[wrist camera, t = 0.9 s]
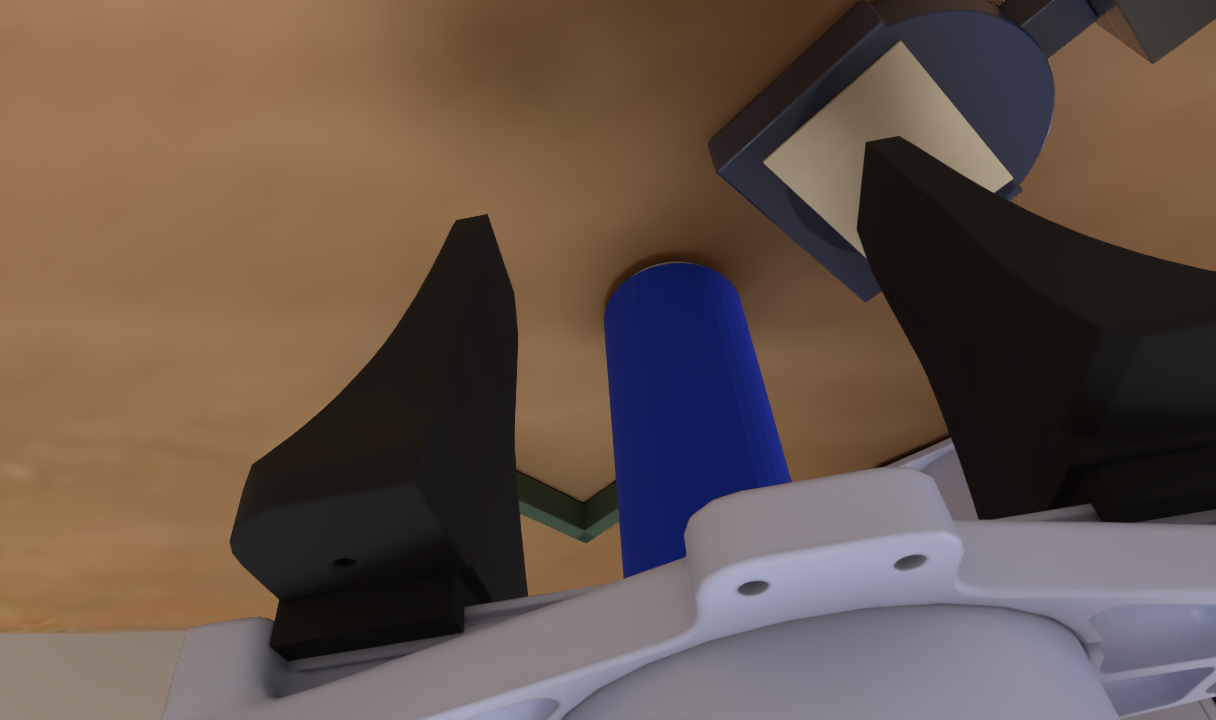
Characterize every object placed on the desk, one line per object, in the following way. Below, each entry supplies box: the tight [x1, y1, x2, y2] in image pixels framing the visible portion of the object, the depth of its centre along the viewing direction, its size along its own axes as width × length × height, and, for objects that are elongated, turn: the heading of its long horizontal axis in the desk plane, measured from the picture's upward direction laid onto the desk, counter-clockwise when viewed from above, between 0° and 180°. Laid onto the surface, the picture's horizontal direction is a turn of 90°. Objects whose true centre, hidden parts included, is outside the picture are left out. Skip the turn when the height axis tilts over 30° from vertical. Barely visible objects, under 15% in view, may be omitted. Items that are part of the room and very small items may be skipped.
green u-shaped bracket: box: [516, 471, 619, 543], centre depth 32 cm, size 13×9×2 cm
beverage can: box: [604, 261, 792, 579], centre depth 24 cm, size 5×5×15 cm
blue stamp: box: [708, 0, 1216, 302], centre depth 21 cm, size 15×8×4 cm, turn 137°
